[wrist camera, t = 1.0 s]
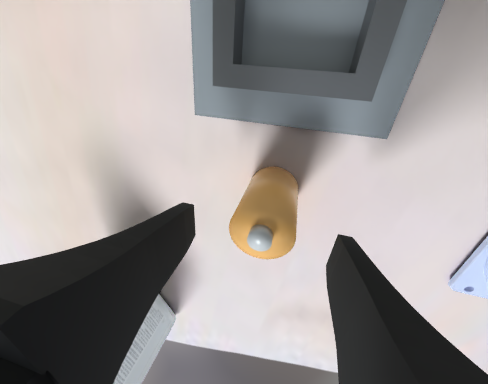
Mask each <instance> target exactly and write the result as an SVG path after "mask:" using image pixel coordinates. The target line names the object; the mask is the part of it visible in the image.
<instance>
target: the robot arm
mask: <svg viewBox="0 0 488 384" xmlns="http://www.w3.org/2000/svg"><path fill="white" fill-rule="evenodd" d="M194 237H195V218H194V205H193V204H188V203H181V204H179V205H176V206H174V207H172V208H170V209H168V210H166V211H164V212H162V213H160V214H158V215H156V216H154V217H152V218H150V219H148V220H146V221H144V222H142V223H140V224H137V225H135V226H133V227H131V228H129V229H126V230H124V231H122V232H119V233H117V234H114V235H111V236H109V237H106V238H103V239H100V240H98V241H95V242H91V243H88V244H85V245H82V246H78V247H75V248H72V249H69V250H65V251H61V252H57V253H54V254H50V255H45V256H41V257H37V258H33V259H28V260H24V261H19V262H13V263H8V264H3V265H0V384H113V383H114V381H115V378H116V376H117V374H118V372H119V370H120V368H121V365H122V363H123V361H124V359H125V357H126V355H127V353H128V351H129V349H130V347H131V345H132V343H133V341H134V339H135V337H136V335H137V333H138V331H139V329H140V327H141V325H142V323H143V321H144V319H145V318H146V316H147V314H148V312H149V310H150V308H151V307H152V305H153V303H154V301H155V299H156V298H157V296H158V294H159V293H160V291H161V289H162V288H163V286H164V285H165V283H166V282H167V281H168V279H169V278H170V276H171V275H172V273H173V272H174V270H175V269H176V267H177V266H178V264H179V263H180V261H181V260H182V258H183V257H184V255H185V254H186V252H187V251H188V249H189V247H190V245H191V243H192V241H193V239H194ZM326 276H327V290H328V296H329V303H330V309H331V315H332V321H333V327H334V333H335V340H336V348H337V362H338V377H339V384H488V374H486V373H485V372H484V371H483V370H482V369H480V368H479V367H478V366H477V365H476V364H474V363H473V362H472V361H471V360H470V359H469V358H467V357H466V356H465V355H464V354H463V353H462V352H461V351H459V350H458V349H457V348H456V347H455V346H454V345H452V344H451V343H450V342H449V341H448V340H447V339H446V338H445V337H443V336H442V335H441V334H440V333H439V332H438V331H437V330H436V329H435V328H434V327H433V326H432V325H431V324H430V323H429V322H427V321H426V320H425V319H424V318H423V317H422V316H421V315H420V314H419V313H418V312H417V311H416V310H415V309H414V308H413V307H412V306H411V305H410V304H409V303H408V302H407V301H406V300H405V299H404V297H403V296H402V295H401V294H400V293H399V292H398V291H397V290H396V289H395V288H394V287H393V286H392V284H391V283H390V282H389V281H388V280H387V279H386V278H385V276H384V275H383V274H382V273H381V272H380V271H379V269H378V268H377V267H376V266H375V265H374V263H373V262H372V261H371V260H370V258H369V257H368V256H367V255H366V253H365V252H364V251H363V250H362V248H361V247H360V246H359V245H358V243H357V242H356V241H355V240H354V239H353V237H349V236H344V235H339V234H338V236H337V239H336V241H335V244H334V247H333V249H332V252H331V254H330V257H329V259H328V262H327V265H326ZM448 285H449V286H450V288H451V289H452V290H454V291H457V292H461V293H465V294H470V295H474V296H478V297H483V298H487V299H488V236H487V237H486V239H485V240H484V241H483V242H482V243H481V244H480V246H479V247H478V248H477V249H476V250H475V251H474V253H473V254H472V255H471V256H470V257H469V258H468V260H467V261H466V262H465V263H464V264H463V265H462V267H461V268H460V269H459V270H458V271H457V272H456V274H455V275H454V276H453V277H452V278H451V279H450V281H449V282H448Z"/></svg>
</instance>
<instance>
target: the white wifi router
mask: <svg viewBox="0 0 488 384" xmlns="http://www.w3.org/2000/svg"><path fill="white" fill-rule="evenodd" d="M175 320H176V316H175V314H174V313H173V311H172V310H171V308H170V307H169V306H168V305H167V303H166V302H165V301H164V300H163V298H162V297H161V296H160V294H158V296H157V298H156V299H155V301H154V303H153V305H152V307H151V308H150V310H149V312H148V314H147V316H146V318H145V319H144V321H143V323H142V325H141V327H140V329H139V331H138V333H137V335H136V337H135V339H134V341H133V343H132V345H131V347H130V349H129V351H128V353H127V355H126V357H125V359H124V361H123V363H122V365H121V368H120V370H119V372H118V374H117V376H116V378H115V381H114V383H113V384H142V382H143V380H144V378H145V376H146V375H147V372H148V371H149V369H150V367H151V365H152V363H153V361H154V360H155V358H156V356H157V354H158V352H159V350H160V349H161V347H162V345H163V343H164V341H165V339H166V338H167V336H168V334H169V332H170V330H171V328H172V326H173V325H174V322H175Z"/></svg>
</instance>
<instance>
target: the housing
mask: <svg viewBox="0 0 488 384" xmlns="http://www.w3.org/2000/svg"><path fill="white" fill-rule="evenodd" d="M444 1H445V0H190V6H191V30H192V55H193V79H194V104H195V115H200V116H208V117H216V118H224V119H232V120H239V121H247V122H255V123H263V124H271V125H279V126H287V127H295V128H303V129H311V130H319V131H327V132H334V133H342V134H350V135H358V136H366V137H374V138H382V139H387V138H388V135H389V133H390V131H391V128H392V126H393V123H394V121H395V119H396V116H397V114H398V111H399V109H400V107H401V104H402V102H403V99H404V97H405V95H406V92H407V90H408V87H409V85H410V83H411V80H412V78H413V75H414V73H415V71H416V68H417V66H418V63H419V61H420V59H421V56H422V54H423V51H424V49H425V47H426V44H427V42H428V39H429V37H430V35H431V32H432V30H433V27H434V25H435V23H436V20H437V18H438V15H439V13H440V11H441V8H442V6H443V3H444Z"/></svg>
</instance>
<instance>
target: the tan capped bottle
mask: <svg viewBox="0 0 488 384" xmlns="http://www.w3.org/2000/svg"><path fill="white" fill-rule="evenodd" d="M297 203H298V185H297V182H296V179H295V178H294V176H293V175H292V174H291V173H290V172H288V171H287V170H285V169H282V168H279V167H266V168H263V169H261V170H259V171H258V172H257V173H256V174H255V175H254V176H253V177H252V179H251V181H250V183H249V185H248V187H247V189H246V191H245V193H244V195H243V197H242V199H241V201H240V203H239V205H238V207H237V209H236V211H235V213H234V215H233V216H232V218H231V221H230V224H229V232H230V235H231V238H232V240H233V242H234V243H235V244H236V245H237V247H238V248H240V249H241V250H242V251H243V252H245V253H247V254H249V255H251V256H253V257H256V258H261V259H274V258H279V257H281V256H283V255H285V254H287V253H288V252H289V251H290V250H291V249H292V248H293V246H294V244H295V240H296V225H297Z"/></svg>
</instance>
